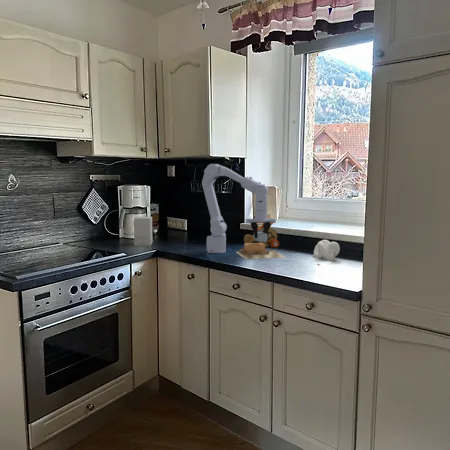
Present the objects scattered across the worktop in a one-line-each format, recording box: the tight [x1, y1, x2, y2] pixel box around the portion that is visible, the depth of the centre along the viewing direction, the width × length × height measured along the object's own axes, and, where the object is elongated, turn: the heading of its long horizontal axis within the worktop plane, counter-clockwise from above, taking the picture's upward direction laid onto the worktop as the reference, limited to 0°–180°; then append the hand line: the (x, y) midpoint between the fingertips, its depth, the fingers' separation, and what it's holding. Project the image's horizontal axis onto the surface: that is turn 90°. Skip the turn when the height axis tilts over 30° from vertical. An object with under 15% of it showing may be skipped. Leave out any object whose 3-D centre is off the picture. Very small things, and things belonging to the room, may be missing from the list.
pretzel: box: [313, 239, 341, 262], centre depth 199 cm, size 11×12×9 cm
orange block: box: [243, 242, 266, 252], centre depth 207 cm, size 9×5×4 cm, turn 104°
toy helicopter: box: [243, 223, 280, 248], centre depth 224 cm, size 8×21×14 cm, turn 121°
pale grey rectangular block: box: [254, 231, 267, 243], centre depth 205 cm, size 4×9×4 cm, turn 14°
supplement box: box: [133, 216, 153, 247], centre depth 231 cm, size 9×9×15 cm
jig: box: [235, 248, 287, 260], centre depth 204 cm, size 20×17×2 cm
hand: (260, 237), depth 205 cm, fingers closed on pale grey rectangular block, 4 cm apart
